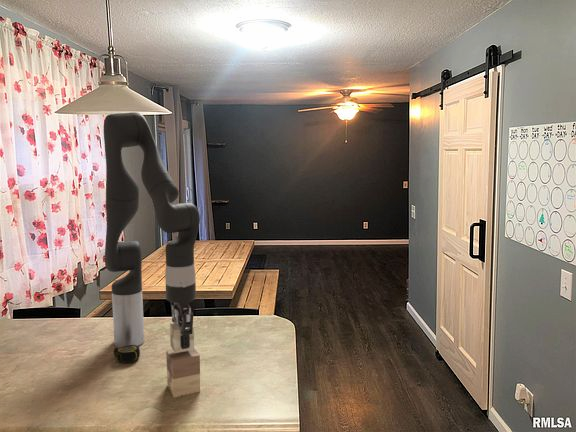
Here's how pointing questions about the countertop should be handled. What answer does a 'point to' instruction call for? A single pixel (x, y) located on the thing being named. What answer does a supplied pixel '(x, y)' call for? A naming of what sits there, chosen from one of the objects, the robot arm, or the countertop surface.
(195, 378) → the tan wooden block
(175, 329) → the maple block
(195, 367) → the walnut slab
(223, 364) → the countertop surface
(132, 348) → the tape measure
